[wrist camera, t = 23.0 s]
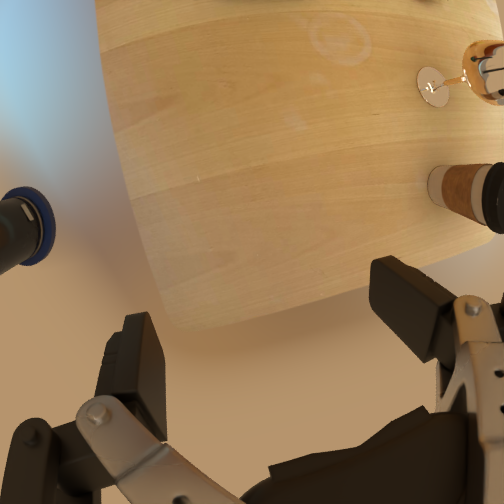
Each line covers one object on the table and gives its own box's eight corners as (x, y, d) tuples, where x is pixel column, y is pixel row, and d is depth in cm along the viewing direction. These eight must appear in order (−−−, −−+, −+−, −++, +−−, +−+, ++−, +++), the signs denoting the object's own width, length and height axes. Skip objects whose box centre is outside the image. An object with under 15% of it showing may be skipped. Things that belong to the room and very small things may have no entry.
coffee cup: (466, 176, 38) (539, 188, 24) (447, 223, 40) (518, 250, 26) (433, 146, 36) (510, 148, 22) (412, 197, 38) (488, 217, 24)
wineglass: (404, 63, 33) (492, 27, 16) (441, 60, 33) (526, 34, 16) (422, 116, 35) (519, 105, 18) (458, 109, 35) (548, 102, 18)
